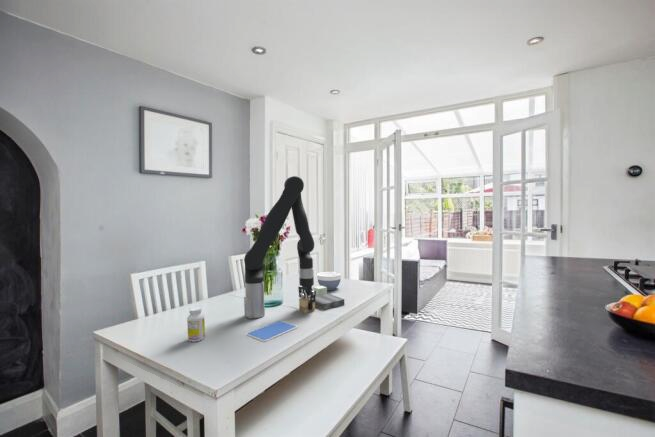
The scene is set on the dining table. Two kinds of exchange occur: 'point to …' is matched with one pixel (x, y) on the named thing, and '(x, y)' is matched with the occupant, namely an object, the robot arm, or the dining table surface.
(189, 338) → the supplement bottle
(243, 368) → the dining table surface
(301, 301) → the oak block
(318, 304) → the slate base
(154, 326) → the dining table surface
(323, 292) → the sage block
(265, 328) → the tablet computer
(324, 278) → the bowl
